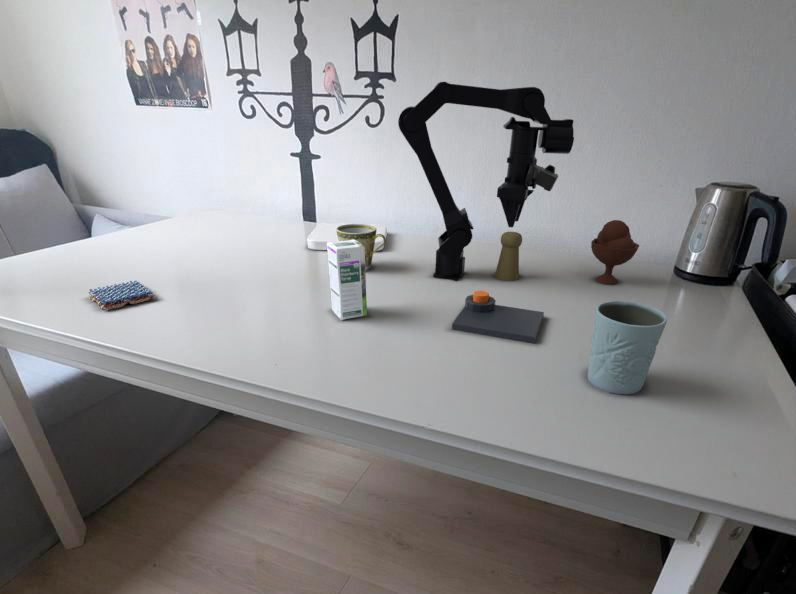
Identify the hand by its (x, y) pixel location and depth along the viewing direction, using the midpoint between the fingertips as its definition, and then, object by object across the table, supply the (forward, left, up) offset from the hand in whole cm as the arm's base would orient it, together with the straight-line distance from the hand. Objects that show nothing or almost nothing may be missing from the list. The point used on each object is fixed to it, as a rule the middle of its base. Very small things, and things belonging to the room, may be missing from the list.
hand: (513, 224), depth 116 cm
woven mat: (-74, -49, -13) cm, 90 cm away
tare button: (-1, -26, -10) cm, 28 cm away
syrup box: (-26, -37, -13) cm, 47 cm away
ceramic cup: (-36, -9, -13) cm, 39 cm away
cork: (0, 0, -13) cm, 13 cm away
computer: (-51, +13, -13) cm, 54 cm away
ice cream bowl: (+24, +7, -13) cm, 28 cm away
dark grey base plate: (+4, -30, -13) cm, 33 cm away
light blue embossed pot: (+26, -45, -13) cm, 54 cm away
